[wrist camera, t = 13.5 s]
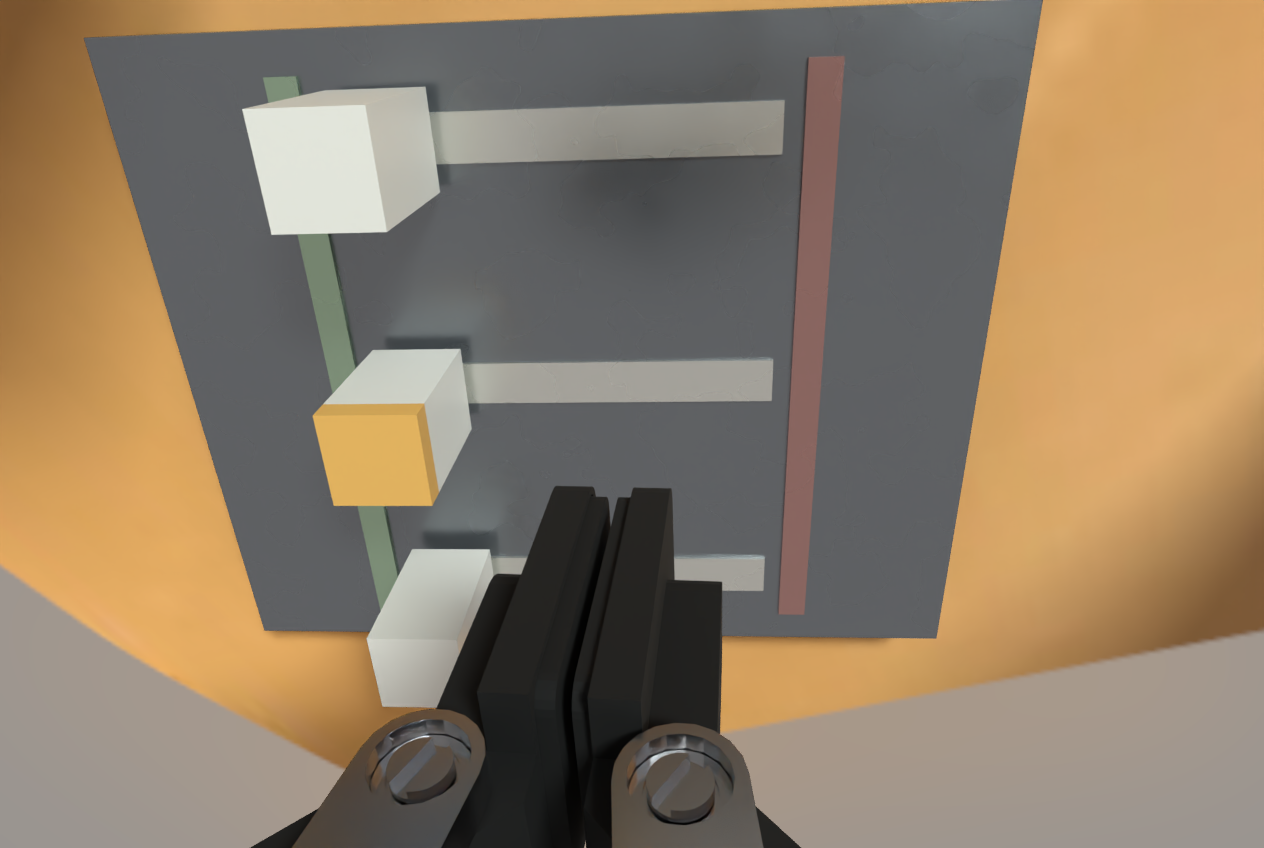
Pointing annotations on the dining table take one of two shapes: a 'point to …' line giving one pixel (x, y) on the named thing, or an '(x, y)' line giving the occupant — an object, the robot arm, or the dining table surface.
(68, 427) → the dining table surface
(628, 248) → the panel
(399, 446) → the block
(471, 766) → the robot arm
